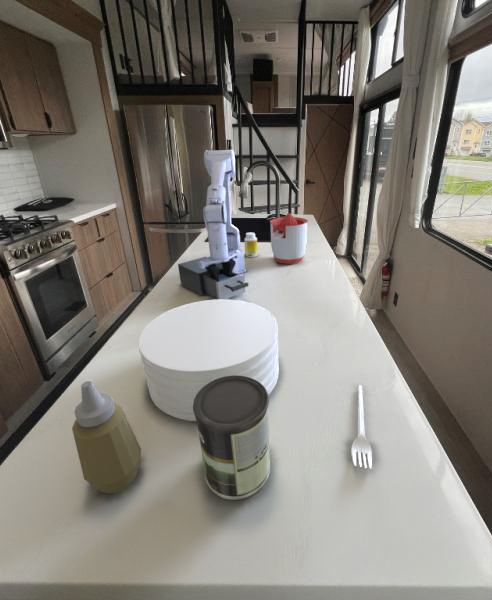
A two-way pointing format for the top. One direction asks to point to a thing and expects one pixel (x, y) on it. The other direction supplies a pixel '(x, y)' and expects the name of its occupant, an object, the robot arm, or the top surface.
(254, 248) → the supplement bottle
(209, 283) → the grey drawer
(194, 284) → the small drawer box
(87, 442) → the squeeze bottle
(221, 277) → the block
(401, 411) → the top surface
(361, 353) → the top surface
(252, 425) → the coffee can
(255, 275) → the top surface
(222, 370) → the plate stack
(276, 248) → the citrus juicer
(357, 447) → the fork
